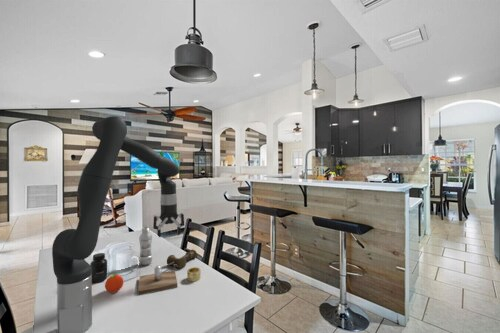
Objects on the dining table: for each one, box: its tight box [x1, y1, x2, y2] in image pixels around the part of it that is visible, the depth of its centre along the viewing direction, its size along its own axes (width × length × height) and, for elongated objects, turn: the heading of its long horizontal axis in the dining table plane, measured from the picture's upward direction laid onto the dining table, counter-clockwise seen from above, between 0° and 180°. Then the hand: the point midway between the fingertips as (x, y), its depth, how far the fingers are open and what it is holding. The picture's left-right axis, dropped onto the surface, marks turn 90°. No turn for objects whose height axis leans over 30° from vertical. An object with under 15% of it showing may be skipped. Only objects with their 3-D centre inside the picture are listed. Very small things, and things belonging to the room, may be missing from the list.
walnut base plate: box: [137, 269, 178, 296], centre depth 107 cm, size 14×16×2 cm
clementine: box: [104, 274, 124, 294], centre depth 100 cm, size 8×7×7 cm
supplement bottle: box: [89, 252, 108, 284], centre depth 110 cm, size 7×7×12 cm
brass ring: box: [186, 266, 201, 283], centre depth 111 cm, size 6×6×4 cm
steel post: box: [153, 265, 162, 281], centre depth 107 cm, size 3×3×6 cm
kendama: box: [166, 249, 198, 270], centre depth 127 cm, size 6×10×20 cm
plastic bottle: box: [138, 226, 153, 266], centre depth 126 cm, size 6×7×20 cm
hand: (169, 235), depth 113 cm, fingers open, 8 cm apart
